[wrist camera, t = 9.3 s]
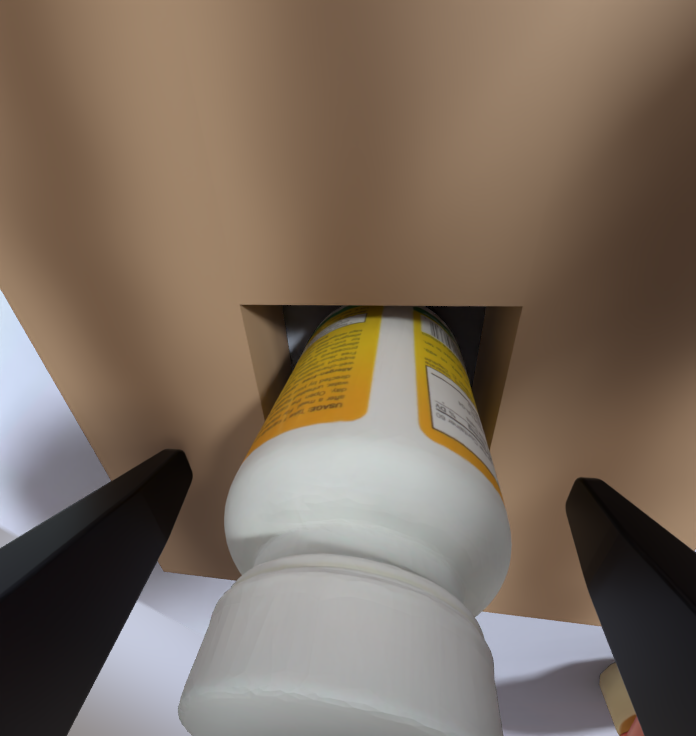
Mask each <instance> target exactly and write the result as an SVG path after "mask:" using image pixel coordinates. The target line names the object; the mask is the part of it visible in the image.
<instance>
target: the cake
mask: <svg viewBox="0 0 696 736" xmlns="http://www.w3.org/2000/svg"><path fill="white" fill-rule="evenodd" d="M599 685H600V688H601V691H602V693H603V696H604V699H605V701H606V704H607V707H608V709H609V712H610V714H611V717H612V720H613V722H614V725H615V728H616V730H617V733H618V734H619V736H644V734H643V731H642V728H641V726H640V723H639V721H638V718H637V716H636V713H635V711H634V708H633V705H632V703H631V700H630V698H629V695H628V693H627V690H626V687H625V685H624V682H623V680H622V677H621V675H620V672H619V670H618V667H617V664H616V663H613V664H611V665H610V666H609V667H608V668H607V669H606V670H605V671H604V672H603V673H602V674H601V675H600V683H599Z"/></svg>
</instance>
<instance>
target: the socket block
mask: <svg viewBox="0 0 696 736" xmlns="http://www.w3.org/2000/svg"><path fill="white" fill-rule="evenodd" d="M0 289H1V291H2V292H3V294H4V296H5V298H6V299H7V301H8V303H9V305H10V306H11V308H12V310H13V312H14V313H15V315H16V317H17V318H18V320H19V322H20V324H21V325H22V327H23V329H24V331H25V332H26V334H27V336H28V338H29V339H30V341H31V343H32V344H33V346H34V348H35V350H36V351H37V353H38V355H39V357H40V358H41V360H42V362H43V363H44V365H45V367H46V369H47V370H48V372H49V374H50V376H51V377H52V379H53V381H54V383H55V384H56V386H57V388H58V389H59V391H60V393H61V395H62V396H63V398H64V400H65V402H66V403H67V405H68V407H69V408H70V410H71V412H72V414H73V415H74V417H75V419H76V421H77V422H78V424H79V426H80V428H81V429H82V431H83V433H84V434H85V436H86V438H87V440H88V441H89V443H90V445H91V447H92V448H93V450H94V452H95V454H96V455H97V457H98V459H99V460H100V462H101V464H102V466H103V467H104V469H105V471H106V473H107V474H108V476H109V478H110V479H111V481H112V480H114V479H116V478H117V477H119V476H121V475H122V474H124V473H126V472H127V471H129V470H131V469H132V468H134V467H136V466H137V465H139V464H140V463H142V462H144V461H145V460H147V459H149V458H150V457H152V456H154V455H155V454H157V453H159V452H160V451H162V450H164V449H167V448H172V449H181V450H183V451H184V452H185V454H186V456H187V459H188V461H189V464H190V466H191V469H192V472H193V479H192V483H191V485H190V488H189V490H188V493H187V495H186V498H185V500H184V503H183V505H182V507H181V510H180V512H179V515H178V517H177V520H176V522H175V525H174V527H173V530H172V532H171V534H170V537H169V539H168V541H167V543H166V545H165V547H164V549H163V551H162V553H161V555H160V557H159V559H158V563H159V564H160V566H161V568H162V570H163V571H164V572H172V573H180V574H188V575H196V576H204V577H212V578H220V579H228V580H236V581H237V580H238V579H239V578H240V577H241V576H242V575H241V573H240V572H239V570H238V569H237V567H236V565H235V563H234V561H233V559H232V557H231V554H230V551H229V548H228V545H227V541H226V535H225V528H224V514H225V505H226V500H227V496H228V493H229V490H230V487H231V484H232V482H233V480H234V478H235V476H236V474H237V472H238V470H239V468H240V466H241V464H242V462H243V460H244V459H245V457H246V455H247V453H248V451H249V450H250V448H251V446H252V444H253V442H254V440H255V439H256V437H257V435H258V433H259V432H260V430H261V428H262V426H263V424H264V423H265V421H266V419H267V417H268V415H269V414H270V412H271V410H272V408H273V406H274V404H275V402H276V400H277V399H278V397H279V395H280V393H281V392H282V390H283V388H284V386H285V385H286V383H287V381H288V379H289V377H290V375H291V374H292V367H291V360H290V353H289V346H288V340H287V333H286V326H285V320H284V313H283V306H282V305H377V306H486V310H485V316H484V322H483V328H482V333H481V339H480V345H479V351H478V357H477V362H476V368H475V374H474V380H473V386H472V393H473V397H474V400H475V404H476V407H477V411H478V414H479V418H480V421H481V424H482V427H483V430H484V434H485V437H486V441H487V444H488V448H489V451H490V454H491V457H492V461H493V465H494V468H495V472H496V476H497V479H498V482H499V485H500V489H501V493H502V497H503V501H504V504H505V508H506V512H507V516H508V521H509V525H510V530H511V544H512V547H511V559H510V564H509V569H508V572H507V575H506V578H505V580H504V582H503V585H502V586H501V588H500V590H499V592H498V593H497V595H496V596H495V598H494V599H493V600H492V601H491V603H490V604H489V605H488V606H487V607H486V608H485V609H484V610H483V612H491V613H499V614H507V615H515V616H523V617H531V618H539V619H547V620H555V621H563V622H571V623H579V624H587V625H595V626H601V623H600V621H599V618H598V616H597V613H596V611H595V608H594V605H593V603H592V600H591V598H590V595H589V592H588V589H587V586H586V583H585V580H584V577H583V573H582V569H581V566H580V562H579V559H578V555H577V551H576V548H575V544H574V541H573V537H572V533H571V530H570V526H569V522H568V519H567V515H566V510H565V504H566V500H567V498H568V495H569V493H570V491H571V488H572V486H573V484H574V482H575V480H576V479H577V478H578V477H588V478H598V479H601V480H603V481H604V482H606V483H607V484H608V485H609V486H611V487H612V488H613V489H615V490H616V491H617V492H619V493H620V494H621V495H622V496H624V497H625V498H626V499H628V500H629V501H630V502H631V503H633V504H634V505H635V506H637V507H638V508H639V509H640V510H642V511H643V512H644V513H646V514H647V515H648V516H650V517H651V518H652V519H653V520H655V521H656V522H657V523H659V524H660V525H661V526H662V527H664V528H665V529H666V530H668V531H669V532H670V533H671V534H673V535H674V536H675V537H677V538H678V539H679V540H681V541H682V542H683V543H684V544H686V545H687V546H688V547H690V548H691V549H692V550H693V551H695V549H696V0H0Z"/></svg>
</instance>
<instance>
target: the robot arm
mask: <svg viewBox="0 0 696 736" xmlns="http://www.w3.org/2000/svg"><path fill="white" fill-rule="evenodd" d="M192 479H193V472H192V469H191V466H190V464H189V461H188V459H187V456H186V454H185V452H184V451H183V450H181V449H172V448H167V449H164V450H162V451H160V452H159V453H157V454H155V455H154V456H152V457H150V458H149V459H147V460H145V461H144V462H142V463H140V464H139V465H137V466H136V467H134V468H132V469H131V470H129V471H127V472H126V473H124V474H122V475H121V476H119V477H117V478H116V479H114V480H112V481H111V482H109V483H107V484H106V485H104V486H102V487H101V488H99V489H97V490H96V491H94V492H92V493H91V494H89V495H87V496H86V497H84V498H83V499H81V500H79V501H78V502H76V503H74V504H73V505H71V506H69V507H68V508H66V509H64V510H63V511H61V512H59V513H58V514H56V515H54V516H53V517H51V518H49V519H48V520H46V521H44V522H43V523H41V524H39V525H38V526H36V527H34V528H33V529H31V530H29V531H28V532H26V533H25V534H23V535H21V536H20V537H18V538H16V539H15V540H13V541H11V542H10V543H8V544H6V545H5V546H3V547H1V548H0V736H67V734H68V732H69V730H70V728H71V727H72V725H73V723H74V721H75V719H76V717H77V715H78V713H79V711H80V709H81V707H82V705H83V704H84V702H85V700H86V698H87V696H88V694H89V692H90V690H91V688H92V686H93V684H94V682H95V680H96V679H97V677H98V675H99V673H100V671H101V669H102V667H103V665H104V663H105V661H106V659H107V657H108V655H109V653H110V651H111V650H112V648H113V646H114V644H115V642H116V640H117V638H118V636H119V634H120V632H121V630H122V628H123V627H124V624H125V623H126V621H127V619H128V617H129V615H130V613H131V611H132V609H133V607H134V605H135V603H136V601H137V600H138V598H139V596H140V594H141V592H142V590H143V588H144V586H145V584H146V582H147V580H148V578H149V576H150V574H151V573H152V571H153V569H154V567H155V565H156V563H157V561H158V559H159V557H160V555H161V553H162V551H163V549H164V547H165V545H166V543H167V541H168V539H169V537H170V534H171V532H172V530H173V527H174V525H175V522H176V520H177V517H178V515H179V512H180V510H181V507H182V505H183V503H184V500H185V498H186V495H187V493H188V490H189V488H190V485H191V483H192ZM565 510H566V515H567V519H568V522H569V526H570V530H571V533H572V537H573V541H574V544H575V548H576V551H577V555H578V559H579V562H580V566H581V569H582V573H583V577H584V580H585V583H586V586H587V589H588V592H589V595H590V598H591V600H592V603H593V605H594V608H595V611H596V613H597V616H598V618H599V621H600V623H601V626H602V629H603V631H604V634H605V636H606V639H607V641H608V644H609V646H610V649H611V652H612V654H613V657H614V659H615V662H616V664H617V667H618V670H619V672H620V675H621V677H622V680H623V682H624V685H625V687H626V690H627V693H628V695H629V698H630V700H631V703H632V705H633V708H634V711H635V713H636V716H637V718H638V721H639V723H640V726H641V728H642V731H643V734H644V736H696V552H695V551H693V550H692V549H691V548H690V547H688V546H687V545H686V544H684V543H683V542H682V541H681V540H679V539H678V538H677V537H675V536H674V535H673V534H671V533H670V532H669V531H668V530H666V529H665V528H664V527H662V526H661V525H660V524H659V523H657V522H656V521H655V520H653V519H652V518H651V517H650V516H648V515H647V514H646V513H644V512H643V511H642V510H640V509H639V508H638V507H637V506H635V505H634V504H633V503H631V502H630V501H629V500H628V499H626V498H625V497H624V496H622V495H621V494H620V493H619V492H617V491H616V490H615V489H613V488H612V487H611V486H609V485H608V484H607V483H606V482H604V481H603V480H601V479H598V478H588V477H578V478H577V479H576V480H575V482H574V484H573V486H572V488H571V491H570V493H569V495H568V498H567V500H566V504H565Z"/></svg>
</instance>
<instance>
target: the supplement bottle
mask: <svg viewBox="0 0 696 736" xmlns="http://www.w3.org/2000/svg"><path fill="white" fill-rule="evenodd" d="M224 528H225V535H226V541H227V545H228V548H229V551H230V554H231V557H232V559H233V561H234V563H235V565H236V567H237V569H238V570H239V572H240V573H241V575H242V576H241V577H240V578H239V579H238V580H237V581H236V582H235V583H234V584H233V585H232V586H231V588H230V589H229V590H228V591H227V592H225V593H224V595H223V596H222V597H221V598H220V599H219V601H218V602H217V604H216V606H215V609H214V611H213V614H212V617H211V620H210V624H209V627H208V629H207V632H206V634H205V637H204V639H203V642H202V644H201V647H200V649H199V652H198V654H197V657H196V659H195V662H194V664H193V666H192V669H191V671H190V674H189V677H188V679H187V681H186V684H185V687H184V690H183V693H182V696H181V699H180V703H179V706H178V715H179V719H180V721H181V723H182V725H183V726H184V727H185V728H186V730H187V731H188V732H189V733H190V734H191V735H192V736H503V731H502V724H501V718H500V712H499V705H498V699H497V693H496V686H495V680H494V662H493V657H492V654H491V651H490V649H489V647H488V645H487V643H486V642H485V640H484V636H483V633H482V630H481V628H480V626H479V624H478V622H477V620H476V619H475V617H476V616H477V615H478V614H480V613H481V612H482V611H483V610H484V609H485V608H486V607H487V606H488V605H489V604H490V603H491V601H492V600H493V599H494V598H495V596H496V595H497V593H498V592H499V590H500V588H501V586H502V585H503V582H504V580H505V578H506V575H507V572H508V569H509V564H510V559H511V547H512V544H511V530H510V525H509V521H508V516H507V512H506V508H505V504H504V501H503V497H502V493H501V489H500V485H499V482H498V479H497V476H496V472H495V468H494V465H493V461H492V457H491V454H490V451H489V448H488V444H487V441H486V437H485V434H484V430H483V427H482V424H481V421H480V418H479V414H478V411H477V407H476V404H475V400H474V397H473V393H472V390H471V386H470V382H469V378H468V375H467V371H466V368H465V365H464V361H463V357H462V354H461V351H460V348H459V346H458V343H457V341H456V339H455V337H454V335H453V333H452V332H451V330H450V329H449V327H448V326H447V325H446V324H445V322H444V321H443V320H442V319H441V318H440V317H439V316H438V315H437V314H435V313H434V312H433V311H431V310H430V309H428V308H427V307H425V306H377V305H344V306H342V307H340V308H338V309H336V310H335V311H334V312H332V313H331V314H330V315H328V316H327V317H326V318H325V319H324V320H323V321H322V322H321V323H320V324H319V326H318V327H317V328H316V330H315V331H314V333H313V335H312V336H311V338H310V339H309V341H308V343H307V345H306V347H305V349H304V351H303V353H302V355H301V357H300V358H299V360H298V362H297V364H296V366H295V368H294V370H293V372H292V374H291V375H290V377H289V379H288V381H287V383H286V385H285V386H284V388H283V390H282V392H281V393H280V395H279V397H278V399H277V400H276V402H275V404H274V406H273V408H272V410H271V412H270V414H269V415H268V417H267V419H266V421H265V423H264V424H263V426H262V428H261V430H260V432H259V433H258V435H257V437H256V439H255V440H254V442H253V444H252V446H251V448H250V450H249V451H248V453H247V455H246V457H245V459H244V460H243V462H242V464H241V466H240V468H239V470H238V472H237V474H236V476H235V478H234V480H233V482H232V484H231V487H230V490H229V493H228V496H227V500H226V505H225V514H224Z"/></svg>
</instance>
